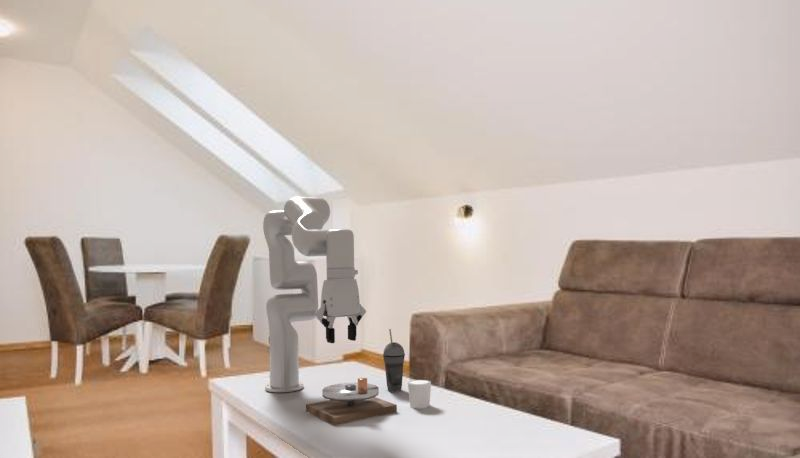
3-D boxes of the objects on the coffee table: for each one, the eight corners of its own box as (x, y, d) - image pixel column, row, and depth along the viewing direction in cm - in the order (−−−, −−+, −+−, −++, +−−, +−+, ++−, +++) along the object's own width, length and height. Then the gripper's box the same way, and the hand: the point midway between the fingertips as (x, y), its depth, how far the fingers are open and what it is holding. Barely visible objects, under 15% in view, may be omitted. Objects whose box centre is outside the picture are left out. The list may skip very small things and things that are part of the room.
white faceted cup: (435, 404, 171) (434, 380, 171) (426, 410, 165) (425, 385, 165) (413, 401, 174) (413, 378, 174) (404, 407, 168) (403, 383, 168)
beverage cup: (403, 393, 184) (402, 330, 185) (381, 392, 185) (380, 330, 186) (407, 388, 191) (406, 327, 192) (386, 387, 193) (385, 327, 193)
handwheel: (312, 393, 166) (312, 374, 166) (359, 384, 176) (359, 366, 176) (340, 404, 153) (339, 384, 153) (389, 394, 163) (389, 375, 163)
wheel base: (305, 411, 165) (305, 394, 165) (364, 400, 177) (364, 384, 177) (334, 425, 151) (334, 407, 152) (396, 411, 163) (396, 395, 163)
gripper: (360, 273, 165) (361, 336, 164) (305, 275, 155) (306, 343, 154) (374, 273, 159) (375, 339, 158) (318, 276, 149) (319, 346, 148)
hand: (341, 340), depth 156 cm, fingers open, 5 cm apart
